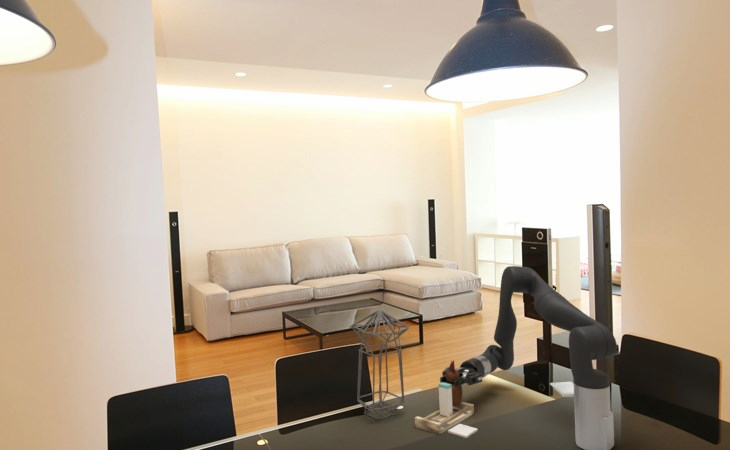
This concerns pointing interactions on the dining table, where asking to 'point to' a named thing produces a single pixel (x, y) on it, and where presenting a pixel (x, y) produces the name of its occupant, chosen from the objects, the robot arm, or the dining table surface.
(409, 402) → the dining table surface
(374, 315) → the geometric lantern
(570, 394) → the hard drive
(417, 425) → the light wooden tray
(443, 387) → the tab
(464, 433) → the pad
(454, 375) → the wooden figurine
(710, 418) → the dining table surface
